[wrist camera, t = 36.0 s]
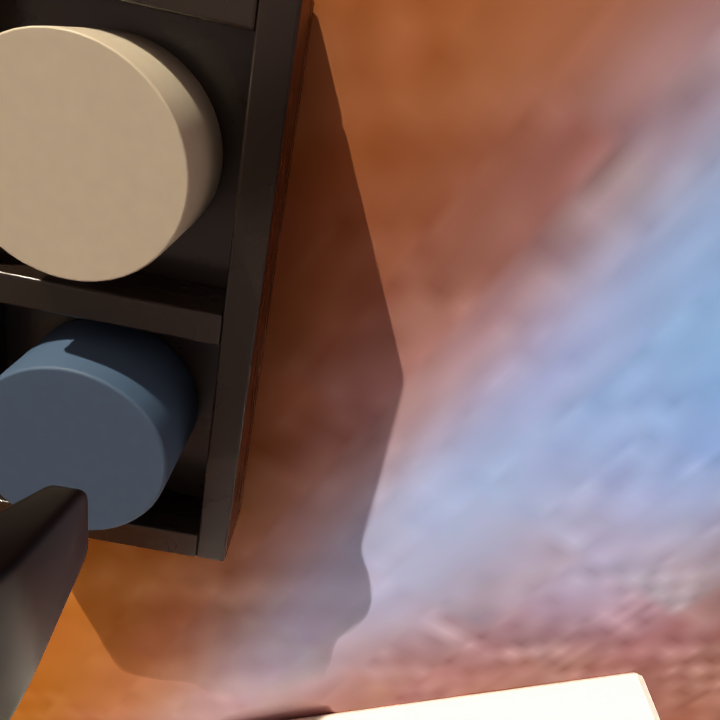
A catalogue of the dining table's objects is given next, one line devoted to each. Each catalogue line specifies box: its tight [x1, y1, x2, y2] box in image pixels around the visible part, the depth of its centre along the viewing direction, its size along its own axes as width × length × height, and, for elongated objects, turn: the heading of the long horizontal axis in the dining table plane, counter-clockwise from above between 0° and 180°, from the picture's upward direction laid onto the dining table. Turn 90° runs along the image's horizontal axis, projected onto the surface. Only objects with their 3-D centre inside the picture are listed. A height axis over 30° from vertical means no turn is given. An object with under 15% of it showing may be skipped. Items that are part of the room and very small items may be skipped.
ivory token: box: [0, 26, 223, 282], centre depth 15 cm, size 5×5×3 cm
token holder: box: [0, 0, 314, 561], centre depth 17 cm, size 8×16×2 cm, turn 169°
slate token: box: [0, 319, 198, 531], centre depth 18 cm, size 5×5×3 cm
